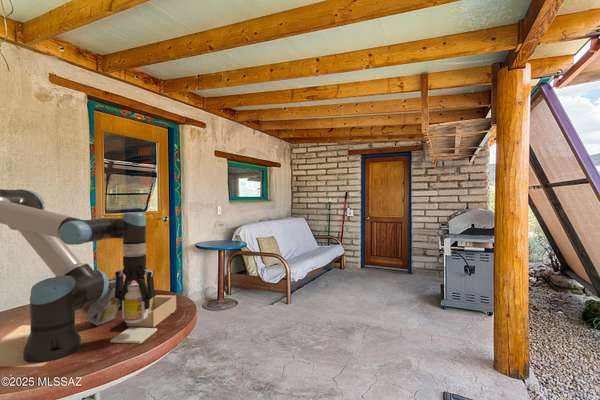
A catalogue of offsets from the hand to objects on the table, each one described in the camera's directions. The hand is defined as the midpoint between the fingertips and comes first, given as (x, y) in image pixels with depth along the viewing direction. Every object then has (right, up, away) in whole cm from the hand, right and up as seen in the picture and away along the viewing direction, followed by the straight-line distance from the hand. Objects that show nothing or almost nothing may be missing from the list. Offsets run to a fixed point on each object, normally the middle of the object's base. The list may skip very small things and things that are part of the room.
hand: (135, 317), depth 117 cm
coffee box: (-21, -5, +13) cm, 25 cm away
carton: (-2, -7, +18) cm, 20 cm away
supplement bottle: (0, -1, 0) cm, 1 cm away
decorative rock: (-24, -7, +35) cm, 43 cm away
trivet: (0, -7, 0) cm, 7 cm away
